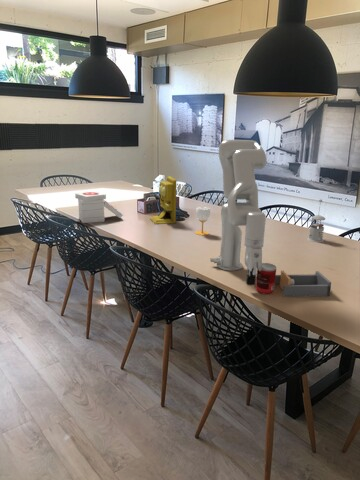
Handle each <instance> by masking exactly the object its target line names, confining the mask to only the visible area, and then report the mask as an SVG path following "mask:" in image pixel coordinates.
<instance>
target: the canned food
mask: <svg viewBox="0 0 360 480" xmlns="http://www.w3.org/2000/svg"><path fill="white" fill-rule="evenodd" d="M276 275H277V266H276V265H275V264H273V263H270V262H269V263H268V262H262V269H261V271H259V270H258V269H257V275H256V278H255V291H256V292H258V293H259V294H262V295H272V293H274V291H275V287H276V286H275V277H276Z"/></svg>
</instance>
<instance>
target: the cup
mask: <svg viewBox="0 0 360 480" xmlns="http://www.w3.org/2000/svg"><path fill="white" fill-rule="evenodd" d="M195 215H196V218H197V220H198V221H199V222H200V223H201V230H197V231H195V232H194V233H195V234H196V235H198V236H208V235H210V232H209V231H205V230H204V223H206V222H207V221H208V220H209V218H210V216H211V208H210V207H208V206H197V207H196V211H195Z"/></svg>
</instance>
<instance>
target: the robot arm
mask: <svg viewBox="0 0 360 480" xmlns="http://www.w3.org/2000/svg"><path fill="white" fill-rule="evenodd" d="M266 154H267V153H266V152H265V150H264V149H263V147H262V146H261V144H260V143H258V141H256V140H252V139H226V140H223V141H222V142H220V144H219V147H218V157H219V162H220V165H221V170H222V182H223V183H222V185H223V186H222V187H223V188H222V189H223V196H224V198H225V199H227V202H226V203H224V204H223V205H222V206H221V209H220V217H221V219H220V220H221V236H220V237H221V238H220V239H221V241H220V252H219V253H220V255H218V257H216V258H214V257H211V258H210V262H211V263H214V264H216V267H217V268H219V269H220V270H224V271H230V272H231V271H232V272H233V271H239V270H241V269H243V263H242V262H240V259H241V252H242V251H241V249H242V233H243V232H242V229H241V228H240V227H241V226H242V227H243V226H245V232H244V244H243V246H245V253H244V265H245V266H246V269H247V270H246V271H247V272H246V284H247V285H248V286H250V285H251V286H254V285H255V286H256V277H257V269H258V270H259V271H261V269H262V263H263V247H264V240H265V233H266V232H265V231H266V229H265V228H266V219H267V218H266V214H265V213H264V212H262V210H261V209H260V208H259V189H258V185H257V182H256V177H255V169H256V170H261V169H263V168H265V166H266V165H267V155H266ZM237 200H238V201H239V200H242V201H243V200H244V201H246V202H241V201H239V202H238V201H237Z"/></svg>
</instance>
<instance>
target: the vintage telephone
mask: <svg viewBox="0 0 360 480" xmlns="http://www.w3.org/2000/svg"><path fill="white" fill-rule="evenodd" d="M158 186H159V187H158V193H159V201H158V202H159V204H160V207H159V208H158V210H157V211H156V213H158V211H159V210H160V209H161V208H162V209H163V210H162V212H161V213H159V215H153V216H151V217H150V218H149V219H150V220H151V221H152V222H153V223H154V224H155V225H165V224H167V225H168V224H173V225H175V224H176V216H177V213H176V212H177V211H176V210H177V208H176V207H177V179H176V178H173V176H170V175H168V176H167V177H166V181H165V180H161V181H160V182H159V184H158Z"/></svg>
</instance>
